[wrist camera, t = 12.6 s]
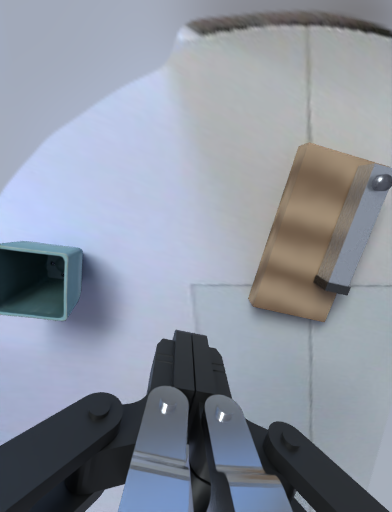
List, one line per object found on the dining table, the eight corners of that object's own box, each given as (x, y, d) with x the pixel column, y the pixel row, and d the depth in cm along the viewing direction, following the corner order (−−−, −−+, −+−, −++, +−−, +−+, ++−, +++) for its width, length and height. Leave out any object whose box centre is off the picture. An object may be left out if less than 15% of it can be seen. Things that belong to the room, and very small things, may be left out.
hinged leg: (356, 165, 33) (379, 162, 29) (379, 171, 33) (404, 169, 30) (313, 282, 37) (327, 292, 33) (333, 286, 37) (350, 297, 34)
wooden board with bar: (314, 313, 42) (329, 327, 38) (248, 298, 41) (255, 311, 36) (374, 169, 36) (399, 166, 32) (298, 146, 35) (315, 140, 31)
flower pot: (34, 231, 36) (-14, 244, 28) (95, 239, 37) (67, 254, 28) (35, 286, 38) (-9, 314, 30) (92, 293, 39) (66, 322, 31)
